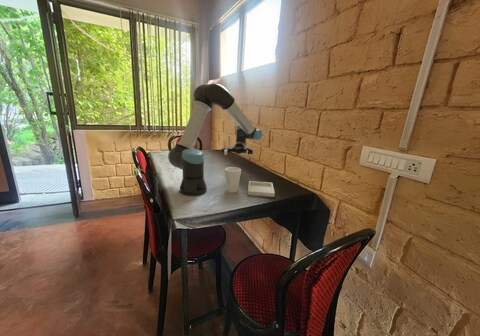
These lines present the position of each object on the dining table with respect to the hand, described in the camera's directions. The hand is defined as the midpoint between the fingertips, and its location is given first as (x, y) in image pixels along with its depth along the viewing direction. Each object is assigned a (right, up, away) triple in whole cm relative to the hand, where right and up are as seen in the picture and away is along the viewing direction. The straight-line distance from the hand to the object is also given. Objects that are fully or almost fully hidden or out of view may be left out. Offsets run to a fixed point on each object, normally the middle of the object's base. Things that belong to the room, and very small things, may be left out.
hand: (235, 153), depth 125 cm
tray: (+15, -23, -3) cm, 27 cm away
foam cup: (-2, -22, -5) cm, 23 cm away
